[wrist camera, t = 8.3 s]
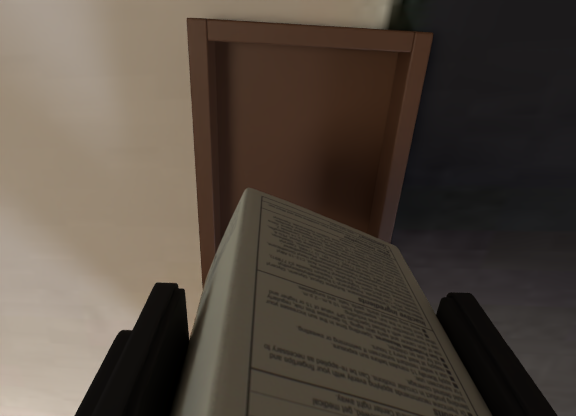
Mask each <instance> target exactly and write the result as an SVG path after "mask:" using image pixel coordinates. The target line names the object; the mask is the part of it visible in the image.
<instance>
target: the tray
mask: <svg viewBox="0 0 576 416" xmlns="http://www.w3.org/2000/svg"><path fill="white" fill-rule="evenodd" d="M187 33H188V50H189V66H190V83H191V100H192V117H193V134H194V151H195V167H196V184H197V201H198V218H199V235H200V251H201V268H202V285H203V288H204V284H205V280H206V277H207V275H208V272H209V269H210V267H211V264H212V262H213V259H214V257H215V254H216V252H217V250H218V247H219V245H220V243H221V240H222V238H223V236H224V234H225V231H226V229H227V227H228V225H229V222H230V220H231V218H232V216H233V214H234V212H235V210H236V207H237V205H238V203H239V201H240V199H241V197H242V195H243V193H244V191H245V190H246V189H247V188H252V189H255V190H258V191H261V192H263V193H266V194H269V195H271V196H274V197H277V198H280V199H282V200H285V201H288V202H290V203H293V204H295V205H298V206H300V207H303V208H305V209H308V210H310V211H313V212H315V213H318V214H320V215H322V216H325V217H327V218H330V219H332V220H335V221H337V222H340V223H342V224H345V225H347V226H350V227H352V228H354V229H357V230H359V231H362V232H364V233H366V234H369V235H371V236H373V237H375V238H378V239H380V240H383V241H385V242H387V243H389V244H390V243H391V238H392V233H393V228H394V224H395V219H396V214H397V209H398V204H399V199H400V195H401V190H402V185H403V180H404V175H405V170H406V165H407V161H408V156H409V151H410V146H411V141H412V136H413V131H414V127H415V122H416V117H417V112H418V107H419V102H420V98H421V93H422V88H423V83H424V78H425V73H426V68H427V64H428V59H429V54H430V49H431V44H432V39H433V33H431V32H417V31H400V30H384V29H367V28H351V27H334V26H317V25H301V24H284V23H267V22H251V21H234V20H218V19H201V18H187Z"/></svg>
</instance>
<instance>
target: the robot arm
mask: <svg viewBox="0 0 576 416" xmlns="http://www.w3.org/2000/svg"><path fill="white" fill-rule="evenodd" d="M436 316H437V318H438V320H439V322H440V324H441V325H442V327H443V329H444V331H445V333H446V334H447V336H448V338H449V340H450V342H451V343H452V345H453V347H454V349H455V350H456V352H457V354H458V356H459V358H460V359H461V361H462V363H463V365H464V366H465V368H466V370H467V372H468V373H469V375H470V377H471V379H472V380H473V382H474V384H475V386H476V387H477V389H478V391H479V393H480V394H481V396H482V398H483V400H484V401H485V403H486V405H487V407H488V409H489V410H490V412H491V414H492V416H557V414H556V413H555V411H554V410H553V409H552V407H551V406H550V404H549V403H548V401H547V400H546V399H545V397H544V396H543V394H542V393H541V391H540V390H539V389H538V387H537V386H536V384H535V383H534V381H533V380H532V379H531V377H530V376H529V374H528V373H527V371H526V370H525V369H524V367H523V366H522V364H521V363H520V361H519V360H518V358H517V357H516V356H515V354H514V353H513V351H512V350H511V349H510V347H509V346H508V345H507V343H506V342H505V340H504V339H503V338H502V336H501V335H500V333H499V332H498V330H497V329H496V328H495V326H494V325H493V323H492V322H491V320H490V319H489V318H488V316H487V315H486V313H485V312H484V310H483V309H482V307H481V306H480V305H479V303H478V302H477V300H476V299H475V297H474V296H473V295H472V294H470V293H452V292H451V293H449V294H448V295H447V296H446V297H443V298H442V299H441V301H440V304H439V307H438V311H437V314H436ZM188 345H189V333H188V321H187V309H186V298H185V290H184V289H179V288H178V284H177V283H156V284H155V285H154V287H153V289H152V291H151V293H150V295H149V297H148V299H147V302H146V304H145V306H144V308H143V310H142V312H141V314H140V316H139V318H138V320H137V322H136V324H135V326H134V328H133V330H122V331H120V332H119V333H118V335H117V336H116V338H115V340H114V342H113V344H112V345H111V347H110V349H109V351H108V353H107V355H106V357H105V359H104V361H103V363H102V364H101V366H100V368H99V370H98V372H97V374H96V376H95V378H94V380H93V382H92V384H91V385H90V387H89V389H88V391H87V393H86V395H85V397H84V399H83V401H82V403H81V404H80V406H79V408H78V410H77V412H76V414H75V416H169V415H170V411H171V407H172V403H173V399H174V395H175V392H176V388H177V384H178V381H179V377H180V374H181V370H182V367H183V363H184V360H185V356H186V352H187V349H188Z"/></svg>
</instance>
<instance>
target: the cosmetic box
mask: <svg viewBox="0 0 576 416" xmlns="http://www.w3.org/2000/svg"><path fill="white" fill-rule="evenodd" d="M169 416H492V414H491V412H490V410H489V409H488V407H487V405H486V403H485V401H484V400H483V398H482V396H481V394H480V393H479V391H478V389H477V387H476V386H475V384H474V382H473V380H472V379H471V377H470V375H469V373H468V372H467V370H466V368H465V366H464V365H463V363H462V361H461V359H460V358H459V356H458V354H457V352H456V350H455V349H454V347H453V345H452V343H451V342H450V340H449V338H448V336H447V334H446V333H445V331H444V329H443V327H442V325H441V324H440V322H439V320H438V318H437V316H436V315H435V313H434V311H433V309H432V307H431V306H430V304H429V302H428V300H427V299H426V297H425V295H424V293H423V292H422V290H421V288H420V286H419V285H418V283H417V281H416V279H415V278H414V276H413V274H412V272H411V271H410V269H409V267H408V265H407V263H406V262H405V260H404V258H403V256H402V255H401V253H400V251H399V249H398V248H397V247H396V246H394V245H392V244H389V243H387V242H385V241H383V240H380V239H378V238H375V237H373V236H371V235H369V234H366V233H364V232H362V231H359V230H357V229H354V228H352V227H350V226H347V225H345V224H342V223H340V222H337V221H335V220H332V219H330V218H327V217H325V216H322V215H320V214H318V213H315V212H313V211H310V210H308V209H305V208H303V207H300V206H298V205H295V204H293V203H290V202H288V201H285V200H282V199H280V198H277V197H274V196H271V195H269V194H266V193H263V192H261V191H258V190H255V189H252V188H247V189H246V190H245V191H244V193H243V195H242V197H241V199H240V201H239V203H238V205H237V207H236V210H235V212H234V214H233V216H232V218H231V220H230V222H229V225H228V227H227V229H226V231H225V234H224V236H223V238H222V240H221V243H220V245H219V247H218V250H217V252H216V254H215V257H214V259H213V262H212V264H211V267H210V269H209V272H208V275H207V277H206V280H205V284H204V288H203V292H202V295H201V299H200V303H199V307H198V310H197V314H196V318H195V322H194V325H193V329H192V333H191V336H190V340H189V345H188V349H187V352H186V356H185V360H184V363H183V367H182V370H181V374H180V377H179V381H178V384H177V388H176V392H175V395H174V399H173V403H172V407H171V411H170V415H169Z"/></svg>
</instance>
